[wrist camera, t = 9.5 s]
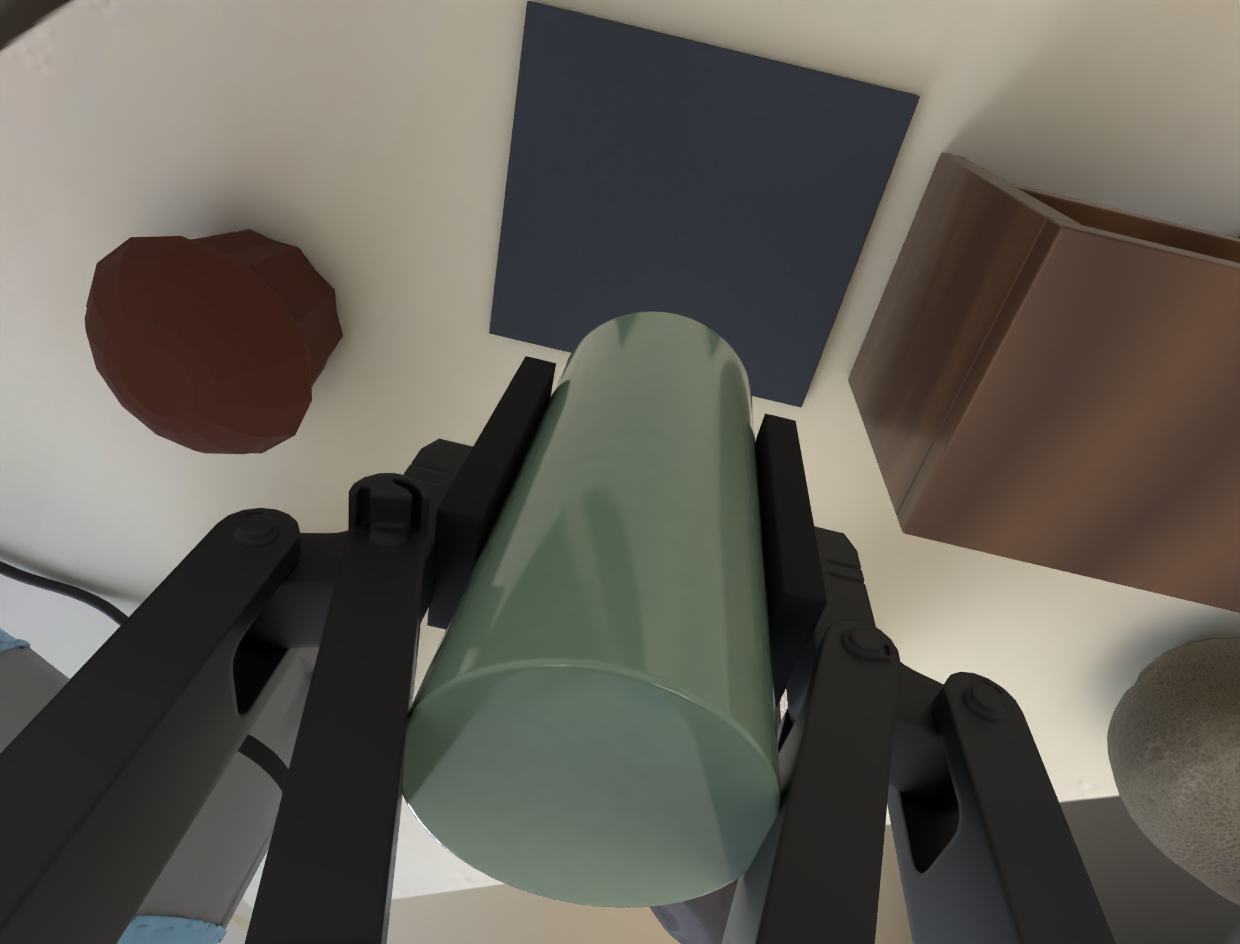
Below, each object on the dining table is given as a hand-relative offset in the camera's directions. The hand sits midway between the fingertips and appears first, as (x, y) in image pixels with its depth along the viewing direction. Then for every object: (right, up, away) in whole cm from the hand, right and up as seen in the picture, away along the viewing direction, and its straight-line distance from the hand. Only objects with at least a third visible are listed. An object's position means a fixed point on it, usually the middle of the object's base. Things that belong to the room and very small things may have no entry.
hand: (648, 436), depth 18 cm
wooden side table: (+21, +7, +19) cm, 29 cm away
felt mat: (+2, +12, +19) cm, 23 cm away
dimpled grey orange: (+36, -14, +30) cm, 49 cm away
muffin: (-21, +9, +24) cm, 33 cm away
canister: (0, +1, +2) cm, 2 cm away
